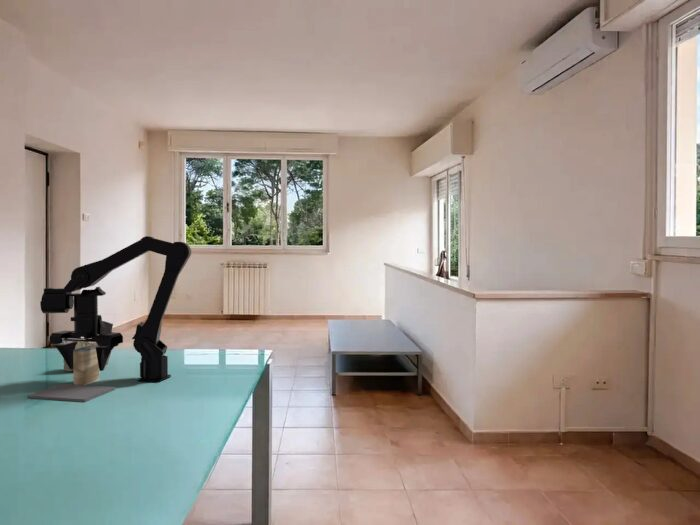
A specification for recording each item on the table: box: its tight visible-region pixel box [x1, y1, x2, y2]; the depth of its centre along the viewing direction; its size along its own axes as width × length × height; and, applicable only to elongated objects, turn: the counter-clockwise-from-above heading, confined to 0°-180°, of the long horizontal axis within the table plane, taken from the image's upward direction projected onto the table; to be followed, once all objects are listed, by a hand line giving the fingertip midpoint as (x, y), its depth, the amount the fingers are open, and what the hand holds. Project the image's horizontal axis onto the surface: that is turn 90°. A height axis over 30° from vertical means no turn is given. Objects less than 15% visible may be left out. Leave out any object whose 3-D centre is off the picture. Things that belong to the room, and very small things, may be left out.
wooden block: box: [73, 346, 100, 385], centre depth 139 cm, size 3×6×9 cm, turn 168°
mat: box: [27, 383, 116, 403], centre depth 129 cm, size 16×11×1 cm
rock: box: [63, 341, 112, 372], centre depth 154 cm, size 12×7×10 cm, turn 112°
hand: (86, 369), depth 139 cm, fingers open, 9 cm apart
